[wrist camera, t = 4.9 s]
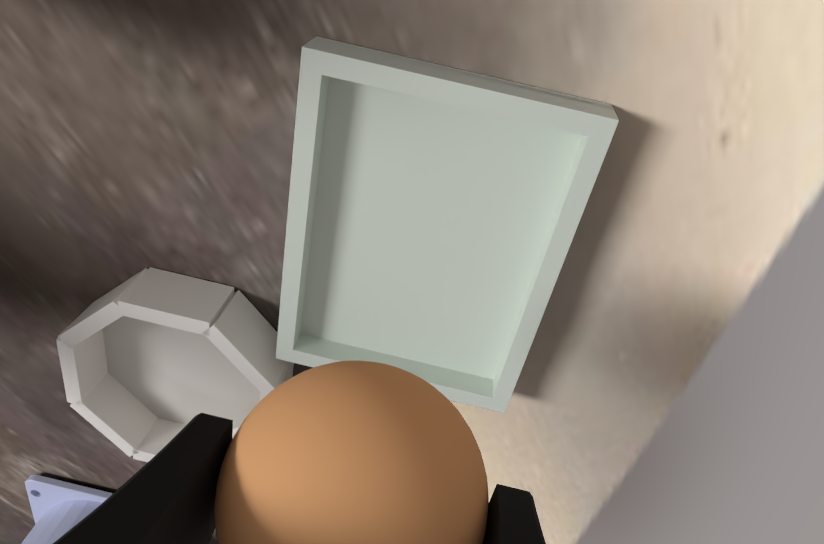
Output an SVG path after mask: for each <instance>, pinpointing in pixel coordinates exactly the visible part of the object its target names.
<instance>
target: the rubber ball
mask: <svg viewBox="0 0 824 544" xmlns="http://www.w3.org/2000/svg"><path fill="white" fill-rule="evenodd" d="M488 506H489V502H488V485H487V476H486V472H485V467H484V463H483V459H482V456H481V452H480V450H479V447H478V445H477V442H476V440H475V438H474V436H473V434H472V431H471V429H470V428H469V426H468V425H467V423H466V422H465V420H464V419H463V417H462V416H461V414H460V413H459V411H458V410H457V409H456V408H455V406H454V405H453V404H452V403H451V402H450V401H449V400H448V399H447V398H446V397H445V396H444V395H443V394H442V393H441V392H440V391H438V390H437V389H436V388H435V387H434V386H432V385H431V384H429V383H428V382H426V381H425V380H424V379H422V378H420V377H418V376H416V375H414V374H412V373H410V372H408V371H405V370H403V369H400V368H398V367H395V366H391V365H388V364H383V363H378V362H371V361H340V362H333V363H329V364H325V365H321V366H317V367H314V368H311V369H309V370H306V371H303V372H301V373H299V374H298V375H296V376H294V377H292V378H290V379H289V380H287V381H285V382H283V383H282V384H280V385H279V386H278V387H276V388H275V389H274V390H272V391H271V392H270V393H269V394H268V395H266V396H265V397H264V398H263V399H262V400H261V401H260V402H259V403H258V404H257V405H256V406H255V407H254V408H253V410H252V411H251V412H250V413H249V414H248V415H247V417H246V418H245V419H244V421H243V422H242V424H241V426H240V427H239V429H238V430H237V432H236V434H235V435H234V437H233V439H232V440H231V442H230V445H229V447H228V450H227V452H226V454H225V457H224V460H223V462H222V465H221V469H220V473H219V477H218V481H217V487H216V495H215V507H214V512H215V526H216V537H217V541H218V544H483V540H484V536H485V532H486V525H487V516H488Z"/></svg>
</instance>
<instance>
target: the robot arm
mask: <svg viewBox="0 0 824 544" xmlns="http://www.w3.org/2000/svg"><path fill="white" fill-rule="evenodd" d="M232 432H233V420H230V419H226V418H222V417H218V416H213V415H209V414H205V413H200V414H198V415H196V416H195V417H194V418H193V419H192V420H191V421H190V422H189V423H188V424H187V425H186V426H185V427H184V428H183V429H182V430H181V431H180V432H179V433H178V434H177V435H176V436H175V437H174V438H173V439H172V440H171V441H170V442H169V443H168V444H167V445H166V446H165V447H164V448H163V449H162V450H161V451H160V452H159V453H157V454H156V455H155V456H154V457H153V458H152V459H151V460H150V461H149V462H148V463H147V464H146V465H145V466H144V467H142V468H141V469H140V470H139V471H138V472H137V473H136V474H135V475H134V476H133V477H131V478H130V479H129V480H128V481H127V482H126V483H125V484H123V485H122V486H121V487H120V488H119V489H118V490H117V491H116V492H114V493H110V492H106V491H102V490H98V489H94V488H90V487H85V486H81V485H77V484H73V483H69V482H65V481H61V480H57V479H53V478H48V477H44V476H40V475H31V476H30V477H29V478H28V479H27V480H26V481H25V486H26V490H27V493H28V497H29V501H30V505H31V509H32V513H33V516H34V520H35V524H36V525H35V526H34V527H33V529H32V530H31V531H30V533H29V534H28V535H27V537H26V538H25V539H24V541H23V542H22V543H21V544H209V542H210V539H211V537H212V534H213V532H214V529H215V527H216V526H215V512H214V507H215V495H216V487H217V481H218V477H219V473H220V469H221V465H222V462H223V460H224V457H225V454H226V452H227V450H228V447H229V445H230V442H231V440H232ZM483 544H546V543H545V540H544V537H543V533H542V530H541V526H540V523H539V519H538V515H537V512H536V508H535V504H534V500H533V497H532V495H531V494H530V492H528V491H524V490H520V489H515V488H511V487H507V486H503V485H499V484H497V485H496V488H495V490H494V492H493V495H492V497H491V500H490V502H489V506H488V516H487V525H486V532H485V536H484V540H483Z"/></svg>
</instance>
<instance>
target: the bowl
mask: <svg viewBox="0 0 824 544" xmlns="http://www.w3.org/2000/svg"><path fill="white" fill-rule="evenodd" d="M234 288H235V287H231V286H227V285H223V284H219V283H215V282H210V281H206V280H202V279H198V278H194V277H189V276H185V275H181V274H177V273H173V272H169V271H164V270H160V269H156V268H152V267H150V268H149V269H147V268H145V269H143V270H142V271H140V272H139V273H137V274H136V275H134V276H133V277H131V278H130V279H128V280H127V281H125V282H123V283H122V284H120V285H119V286H117V287H116V288H114V289H113V290H111V291H110V292H108V293H107V294H105V295H104V296H102V297H100V298H99V299H97V300H96V301H94V302H93V303H92V304H91V305H90V306H89V307H88V308H87V309H86V310H85V311H84V312H83V313H82V314H81V315H79V316H78V317H77V318H76V319H75V320H74V321H73V322H72V323H71V324H70V325H69V326H68V327H67V328H66V329H65V330H64V331H63V332H62V333H61V334H60V335H59V336H58V339H57V340H56V341H57V347H58V353H59V358H60V364H61V369H62V375H63V380H64V386H65V392H66V397H67V402H69V403H71V405H70V406H71V407H72V408H73V409H74V410H75V411H77V412H78V413H79V414H80V415H81V416H82V417H84V418H85V419H86V420H87V421H88V422H89V423H91V424H92V425H93V426H94V427H95V428H96V429H98V430H99V431H100V432H101V433H102V434H103V435H105V436H106V437H107V438H108V439H109V440H110V441H112V442H113V443H114V444H115V445H116V446H117V447H119V448H120V449H121V450H122V451H123V452H124V453H126V454H127V455H128V456H129V457H130V456H132V455H133V458H134V459H136V460H140V461H144V462H149V461H150V460H151V459H152V458H153V457H154V456H155V455H156V454H157V453H159V452H160V451H161V450H162V449H163V448H164V447H165V446H166V445H167V444H168V443H169V442H170V441H171V440H172V439H173V438H174V437H175V436H176V435H177V434H178V433H179V432H180V431H181V430H182V429H183V428H184V427H185V426H186V425H187V424H188V423H189V422H190V421H191V420H192V419H193V418H194V417H195V416H196V415H198V414H200V413H205V414H209V415H213V416H218V417H222V418H226V419H230V420H233V432H232V439H233V437H234V435H235V434H236V432H237V430H238V429H239V427H240V426H241V424H242V422H243V421H244V419H245V418H246V417H247V415H248V414H249V413H250V412H251V411H252V410H253V408H254V407H255V406H256V405H257V404H258V403H259V402H260V401H261V400H262V399H263V398H264V397H265V396H266V395H268V394H269V393H270V392H271V391H272V390H274V389H275V388H276V387H278V386H279V385H280V384H282V383H283V382H285V381H287V380H289V379H290V378H292V376H293V367H294V363H292V362H288V361H284V360H280V359H276V346H277V334H278V332H277V331H276V330H275V329H274V328H273V327H272V326H271V325H270V324H269V322H268V321H267V320H266V319H265V318H264V317H263V316H262V315H261V314H260V313H259V311H258V310H257V309H256V308H255V307H254V306H253V305H252V304H251V303H250V302H249V300H248V299H247V298H246V297H245V296H244V295H243V294H242V293H241V292H240V290H238V291H236V292H234Z"/></svg>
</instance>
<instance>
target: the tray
mask: <svg viewBox="0 0 824 544" xmlns="http://www.w3.org/2000/svg"><path fill="white" fill-rule="evenodd" d="M618 122H619V119H618V117H617V115H616V113H615V111H614V109H613V107H612V105H611V104H607V103H603V102H599V101H594V100H590V99H586V98H581V97H577V96H573V95H568V94H564V93H560V92H556V91H551V90H547V89H543V88H538V87H534V86H530V85H525V84H521V83H517V82H512V81H508V80H504V79H499V78H495V77H491V76H486V75H482V74H478V73H474V72H469V71H465V70H461V69H456V68H452V67H448V66H443V65H439V64H435V63H430V62H426V61H422V60H417V59H413V58H409V57H404V56H400V55H396V54H392V53H387V52H383V51H379V50H374V49H370V48H366V47H361V46H357V45H353V44H348V43H344V42H340V41H335V40H331V39H327V38H322V37H318V36H316V37H315V38H314V39H312V40H311V41H309V42H308V43H306V44H305V45H304V46H302V51H301V63H300V75H299V86H298V98H297V110H296V122H295V134H294V145H293V157H292V169H291V181H290V193H289V204H288V216H287V228H286V240H285V252H284V264H283V275H282V287H281V299H280V311H279V323H278V334H277V346H276V359H280V360H284V361H288V362H292V363H297V364H301V365H305V366H309V367H313V368H314V367H317V366H321V365H325V364H329V363H333V362H340V361H371V362H378V363H383V364H388V365H391V366H395V367H398V368H400V369H403V370H405V371H408V372H410V373H412V374H414V375H416V376H418V377H420V378H422V379H424V380H425V381H426V382H428V383H429V384H431V385H432V386H434V387H435V388H436V389H437V390H438V391H440V392H441V393H442V394H443V395H444V396H445V397H446V398H447V399H448V400H451V401H455V402H459V403H463V404H468V405H472V406H476V407H480V408H484V409H488V410H493V411H497V412H501V413H505V411H506V409H507V406H508V403H509V401H510V398H511V396H512V393H513V391H514V388H515V386H516V383H517V380H518V378H519V375H520V373H521V370H522V368H523V365H524V363H525V360H526V357H527V355H528V352H529V350H530V347H531V345H532V342H533V340H534V337H535V334H536V332H537V329H538V327H539V324H540V322H541V319H542V317H543V314H544V311H545V309H546V306H547V304H548V301H549V299H550V296H551V293H552V291H553V288H554V286H555V283H556V281H557V278H558V276H559V273H560V270H561V268H562V265H563V263H564V260H565V258H566V255H567V253H568V250H569V247H570V245H571V242H572V240H573V237H574V235H575V232H576V230H577V227H578V224H579V222H580V219H581V217H582V214H583V212H584V209H585V207H586V204H587V201H588V199H589V196H590V194H591V191H592V189H593V186H594V184H595V181H596V178H597V176H598V173H599V171H600V168H601V166H602V163H603V161H604V158H605V155H606V153H607V150H608V148H609V145H610V143H611V140H612V137H613V135H614V132H615V130H616V127H617V125H618Z"/></svg>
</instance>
